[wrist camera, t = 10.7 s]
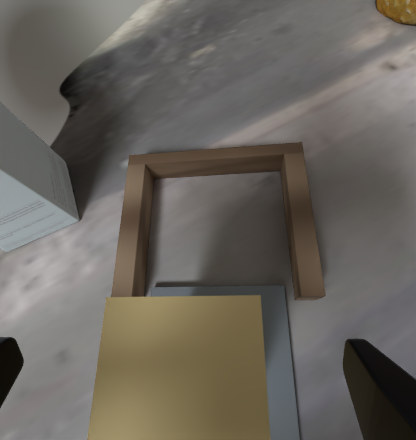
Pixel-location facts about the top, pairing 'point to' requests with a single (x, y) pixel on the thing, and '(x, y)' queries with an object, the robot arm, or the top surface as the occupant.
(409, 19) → the bagel
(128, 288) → the frame
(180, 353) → the ochre block
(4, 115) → the supplement box
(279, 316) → the slate mat
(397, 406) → the robot arm
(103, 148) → the top surface
